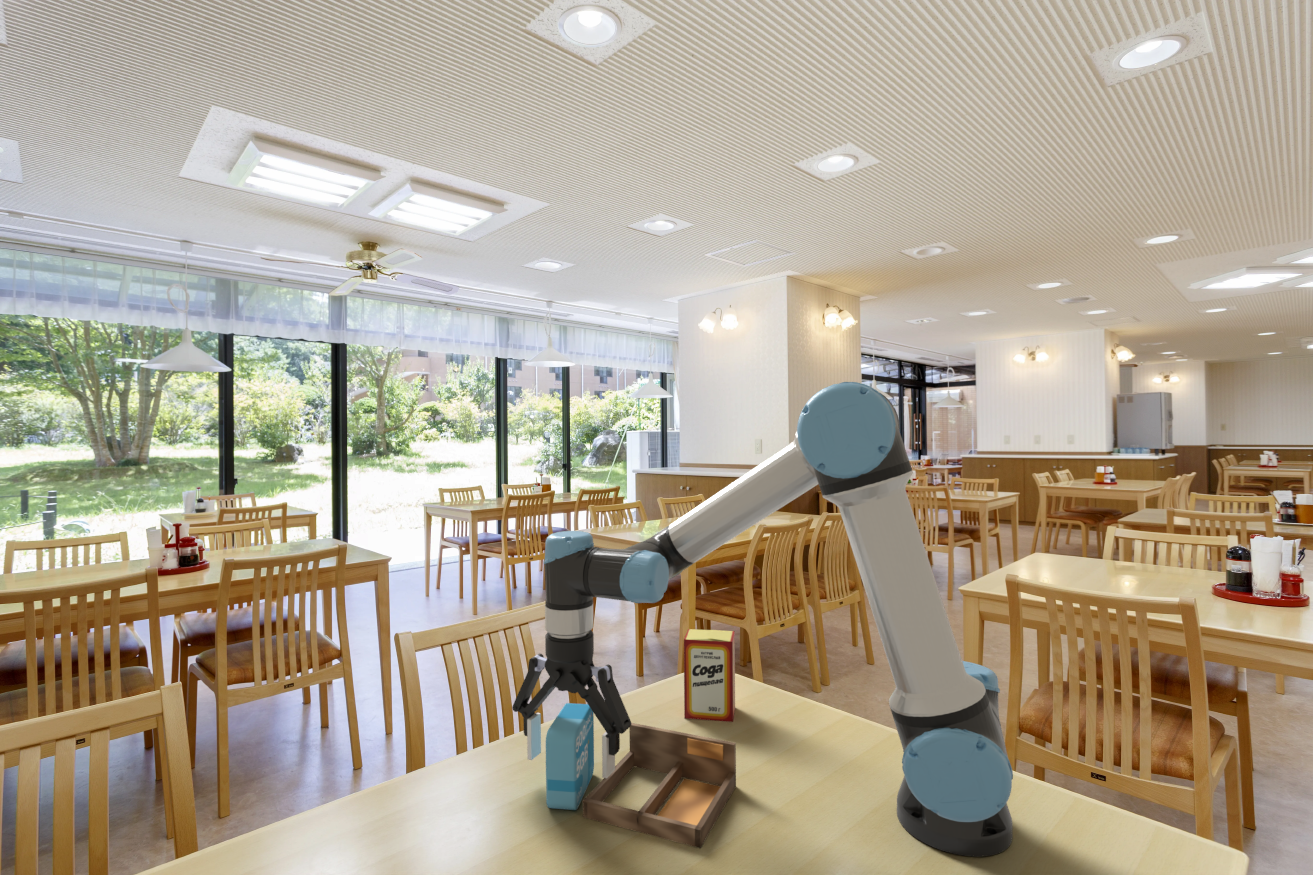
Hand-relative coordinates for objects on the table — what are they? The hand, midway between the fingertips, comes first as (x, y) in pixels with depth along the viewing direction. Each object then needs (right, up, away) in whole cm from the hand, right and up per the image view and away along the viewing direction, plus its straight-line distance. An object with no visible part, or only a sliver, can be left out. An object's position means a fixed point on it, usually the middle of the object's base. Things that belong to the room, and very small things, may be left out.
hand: (570, 764), depth 104 cm
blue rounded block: (0, -4, 0) cm, 4 cm away
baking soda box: (+24, -4, +28) cm, 37 cm away
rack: (+14, -4, -3) cm, 15 cm away
